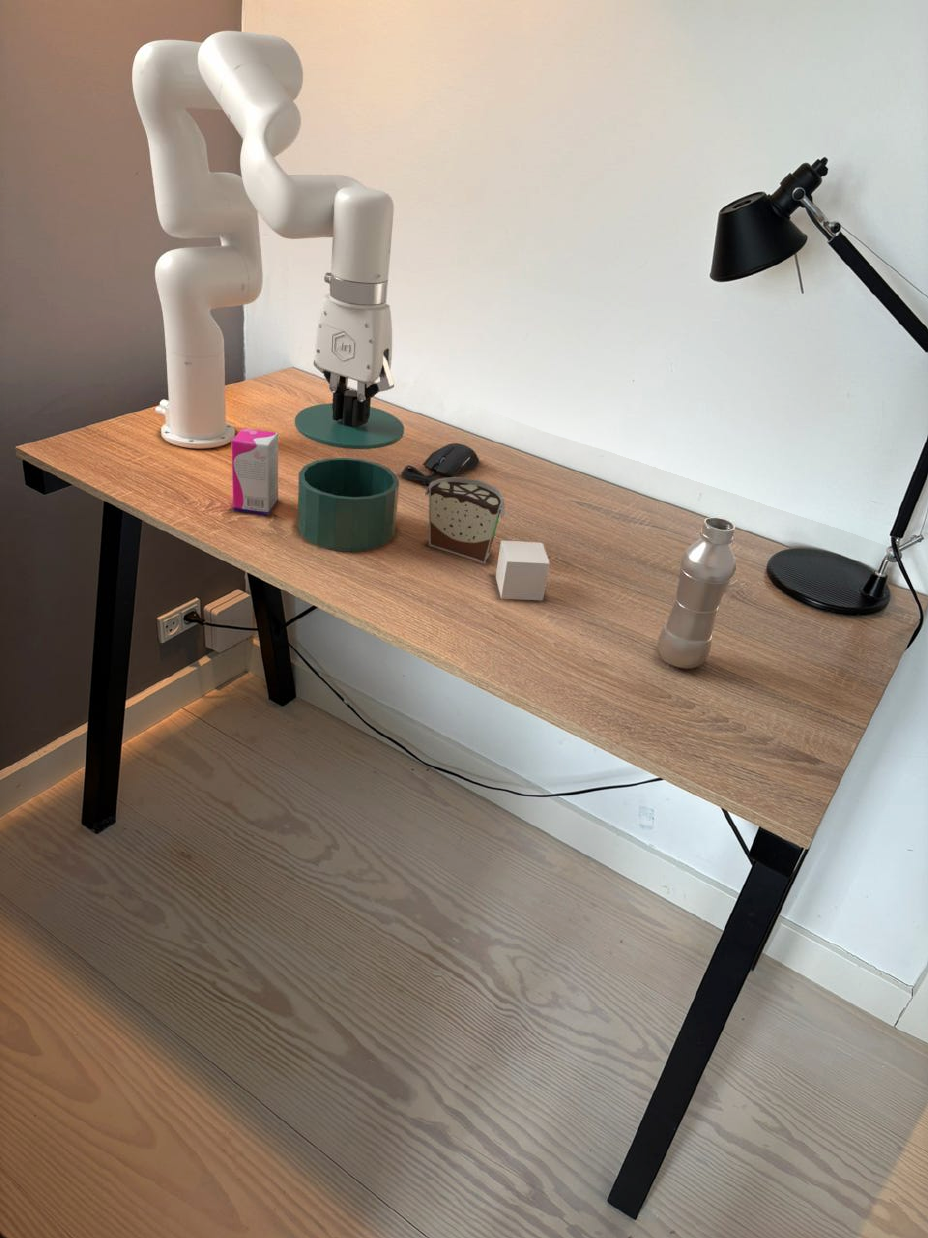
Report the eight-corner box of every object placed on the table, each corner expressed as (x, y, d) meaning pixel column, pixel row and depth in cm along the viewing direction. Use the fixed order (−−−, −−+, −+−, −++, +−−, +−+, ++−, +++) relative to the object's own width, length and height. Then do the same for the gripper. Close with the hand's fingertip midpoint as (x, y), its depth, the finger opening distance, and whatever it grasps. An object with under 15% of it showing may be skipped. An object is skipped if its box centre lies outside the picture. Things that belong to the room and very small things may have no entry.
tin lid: (272, 430, 132) (272, 391, 129) (336, 402, 144) (338, 366, 141) (364, 463, 126) (367, 423, 123) (423, 431, 138) (427, 394, 135)
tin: (277, 530, 140) (278, 478, 135) (335, 498, 151) (337, 449, 147) (359, 561, 135) (362, 508, 130) (412, 526, 146) (417, 476, 142)
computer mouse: (512, 475, 167) (515, 454, 165) (451, 501, 155) (453, 479, 153) (458, 453, 173) (461, 432, 171) (396, 477, 161) (397, 455, 159)
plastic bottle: (648, 645, 125) (684, 510, 114) (697, 647, 126) (737, 513, 115) (661, 674, 119) (700, 534, 109) (711, 676, 120) (755, 538, 110)
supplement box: (279, 500, 148) (279, 431, 142) (268, 516, 143) (269, 446, 137) (243, 494, 148) (242, 426, 142) (231, 510, 143) (230, 440, 137)
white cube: (495, 577, 136) (500, 540, 132) (535, 579, 136) (542, 542, 133) (501, 598, 131) (507, 561, 127) (543, 600, 131) (549, 563, 128)
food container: (510, 550, 143) (519, 490, 138) (494, 566, 138) (503, 505, 133) (438, 527, 147) (444, 468, 141) (420, 542, 142) (426, 481, 136)
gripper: (292, 280, 124) (288, 412, 134) (395, 309, 119) (383, 445, 128) (325, 272, 130) (319, 399, 140) (425, 300, 124) (411, 430, 134)
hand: (350, 420), depth 134 cm, fingers closed on tin lid, 2 cm apart
